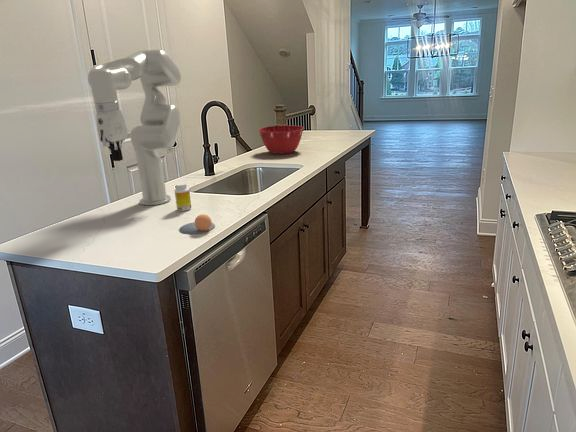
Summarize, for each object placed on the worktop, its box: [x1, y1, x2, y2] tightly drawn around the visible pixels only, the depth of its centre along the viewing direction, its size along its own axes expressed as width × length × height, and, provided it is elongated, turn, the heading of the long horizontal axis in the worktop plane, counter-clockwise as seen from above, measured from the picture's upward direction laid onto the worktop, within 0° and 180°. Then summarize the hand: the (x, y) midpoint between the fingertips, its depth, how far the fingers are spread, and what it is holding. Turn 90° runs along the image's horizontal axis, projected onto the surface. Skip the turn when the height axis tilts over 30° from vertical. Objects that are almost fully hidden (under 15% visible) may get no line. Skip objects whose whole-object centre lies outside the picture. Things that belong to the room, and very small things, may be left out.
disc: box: [178, 221, 216, 235], centre depth 150 cm, size 12×12×1 cm
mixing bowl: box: [258, 124, 304, 155], centre depth 278 cm, size 28×28×16 cm
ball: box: [194, 213, 213, 231], centre depth 147 cm, size 6×6×6 cm
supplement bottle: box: [174, 182, 192, 212], centre depth 171 cm, size 6×6×10 cm
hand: (117, 160), depth 156 cm, fingers closed
